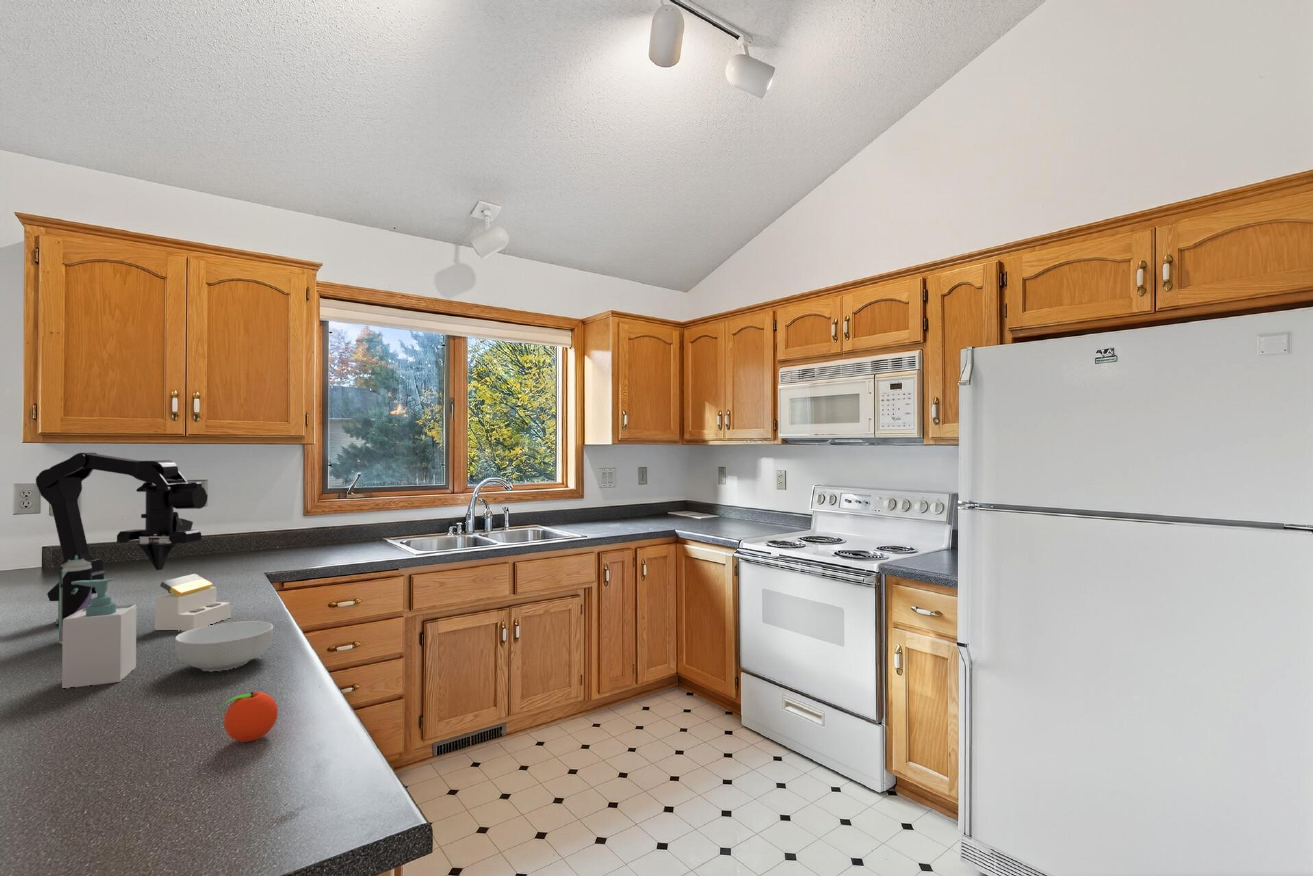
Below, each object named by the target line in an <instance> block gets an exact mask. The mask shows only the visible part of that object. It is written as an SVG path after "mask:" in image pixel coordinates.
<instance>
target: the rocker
mask: <svg viewBox="0 0 1313 876" xmlns="http://www.w3.org/2000/svg"><path fill="white" fill-rule="evenodd" d="M159 587H161V588H162V589H164V590H166V591H167V593H168V594H170V593H173V594H174V595H176V596H178V597H180V596H184V595H187V594H191V593H194V592H198V591H201V590H205V589H208V588H211V587H213V583H212V582H211V581H209V580H207V579H205V578H203V577H202V576H200V575H198V574H196V573H192V574H188V575H183V576H180V577H175V578H172V579H167V580H164V581H161V583H160V585H159Z"/></svg>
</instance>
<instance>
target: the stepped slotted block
mask: <svg viewBox="0 0 1313 876" xmlns="http://www.w3.org/2000/svg"><path fill="white" fill-rule="evenodd" d="M217 589H218V588H217V586H211V588H208V589H205V590H201V591H198V592H194V593H191V594H187V595H184V596H180V597H178V596H176V595H174V594H173V593H168V594H167V593H166V594H163V595H159V596H156V597H155V598H154V599H155V600H154V601H155V603H154V604H155V605H154V607H155V609H154V615H155V616H154V631H155V630H178V631H177V632H186V631H188V630H192V629H195V628H200V627H204V626H208V625H210V624H213V625H215V624H214V623H216V622H218V623H220V622H219V621H221V620H224V621H226V620H225V619H227V618H230V619H231V618H232V602H226V601H225V602H222V601H218V602H217V599H218V598H217V596H218V595H217V593H218V592H217ZM227 620H228V619H227ZM221 622H222V621H221ZM216 624H217V623H216ZM180 630H181V631H180Z"/></svg>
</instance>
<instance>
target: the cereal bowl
mask: <svg viewBox="0 0 1313 876" xmlns="http://www.w3.org/2000/svg"><path fill="white" fill-rule="evenodd" d="M273 638H274V625H273V624H272V623H270V622H267V621H259V620H244V621H233V622H223V623H216V624H213V625H209V626H204V627H200V628H195V629H192V630H188V631H182V632H180V633H179V634H177V635H176V636H175V638H174V651H175V655H176V657H177V659H178V660H179V661H180V662H181V663H182V664H184V665H186V666H189V667H191V668H192V667H193V668H196V669H200V670H201V671H203V672H206V671H209V672H210V673H214V672H213V671H218V672H222V671H221V670H226V671H230V670H229V669H231V670H233V669H232V668H235V669H237V667H238V668H240V667H239V666H241V667H243V666H244V664H245V665H247V663H249V662H250V661H251V660H254V659H256V658H258V657H259V656H261V655H262V654H264V653H265V652H266V651H267V650H268V648H269V647H270V646H271V644H272V642H273ZM209 672H208V673H209Z"/></svg>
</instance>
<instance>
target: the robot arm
mask: <svg viewBox="0 0 1313 876" xmlns="http://www.w3.org/2000/svg"><path fill="white" fill-rule="evenodd" d="M94 470H95V471H103V472H110V473H114V474H121V475H128V476H130V477H133V478H135V479H136V480H138V481H141V482H143V484H142V485H140V486H138V488H137V489H136V490H135V491H136V492H138V493H141V492H142V493H144V492H145V512H144V513H142V514H140V518H141V519H145V521H144V522H145V523H144V524H145V528H141V529H140V528H137V529H136V528H135V529H134V528H133V529H130V530H122V531H119V532H118V534H117V535H116V544H117V543H118V544H119V543H120V544H123V543H124V544H126V543H129V542H131V541H135V540H139V543H137V547H140V548H141V549H142V551H143V552H144V553H145V554H146V557H147V558H148V559H149V561H150V563H151V564H152V566H153V567H154V568H155V570H156V571H162V570H163V569H164V566H165V563H166V561H167V560H168V556H169V554H170V552H171V551H172V549H174V547H175V546H176V545H178V544H179V545H180V544H188V543H192V542H198V541H202V532H201V531H200V530H199V529H192V528H193V525H194V521H192V520H188V519H184V518H181V517H179V512H178V511H174V509H176V510H183V509H184V510H187V509H188V510H189V509H190V510H194V509H195V510H200V509H202V508H204V507H205V506H206V504H207V501H208V493H207V491H206V489H205V487H203V484H202V482H201V481H199V482H197V481H196V482H190V483H189V482H188V481H187V479H186V477H184V475H183V474H182V473H181V472H180V470H179V467H178V465H177V464H176V462H175V461H173V460H169V459H168V460H167V459H164V460H163V459H162V460H138V459H133V458H126V457H119V456H113V455H105V454H100V453H99V454H98V453H96V452H78V453H76V454H74V455H72V456H71V457H70V458H68V459H66V460H63V461H61V462H59V463H57V464H55V465H52V466H51V467H50V468H48V469H44V470H41V472H39V473H38V475H37V476H36V477H35V484H36V487H37V489H38V491H39V493H40V494H39V495H40V496H41V497H42V498H43V499H44V500H46V502H48V504H50V507H51V510H52V514H53V519H54V524H55V526H56V527H55V528H56V532H57V536H58V537H57V538H58V541H59V545H60V549H61V553H62V554H61V555H62V558H63V561H62V563H61V565H63V564H65V563H66V562H68V560H69V559H70V558H71V554H81V557H82V558H84V560H85V561H87V562H90V563H91V566H92V580H104V579H105V577H104V576H105V574H106V571H105V569H104V565H103V563H104V562H103V560H102V558H97V559H95V558H94V557H93V556H92V555H91V554H90V552H89V551H90V550H89V547H88V542H87V537H86V533H85V530H84V524H83V521H82V517H81V512H80V508H79V507H80V506H79V504H78V499H79V498H80V495H81V493H82V489H83V484H82V483H83V481H84V480H86V479H87V478H88V477H90V475H91V474H92V472H93V471H94ZM59 588H60V569H59V571H58V583H56V584H55V585H54V586H53V587H52V588H51V589H50V590H49V591H48V592H47V595H46V596H47V597H48V600H49V602H58V604H57V608H58V609H57V613H58V616H57V618H56V619H55V626H58V627H59ZM94 594H97V592H96V591H95V586H94V587H92V595H94Z"/></svg>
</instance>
